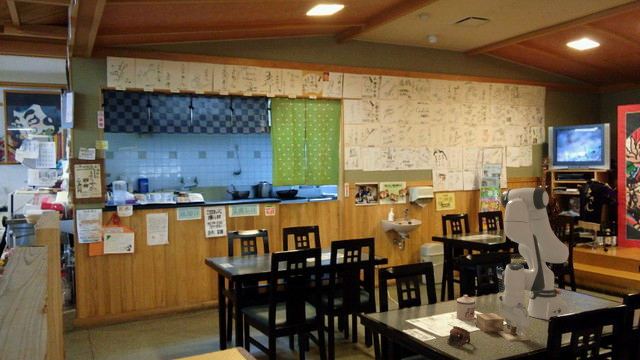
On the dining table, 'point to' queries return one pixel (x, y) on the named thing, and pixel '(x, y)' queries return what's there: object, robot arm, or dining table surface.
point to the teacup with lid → (465, 308)
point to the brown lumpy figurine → (456, 339)
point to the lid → (513, 335)
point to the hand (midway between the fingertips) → (513, 331)
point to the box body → (489, 322)
